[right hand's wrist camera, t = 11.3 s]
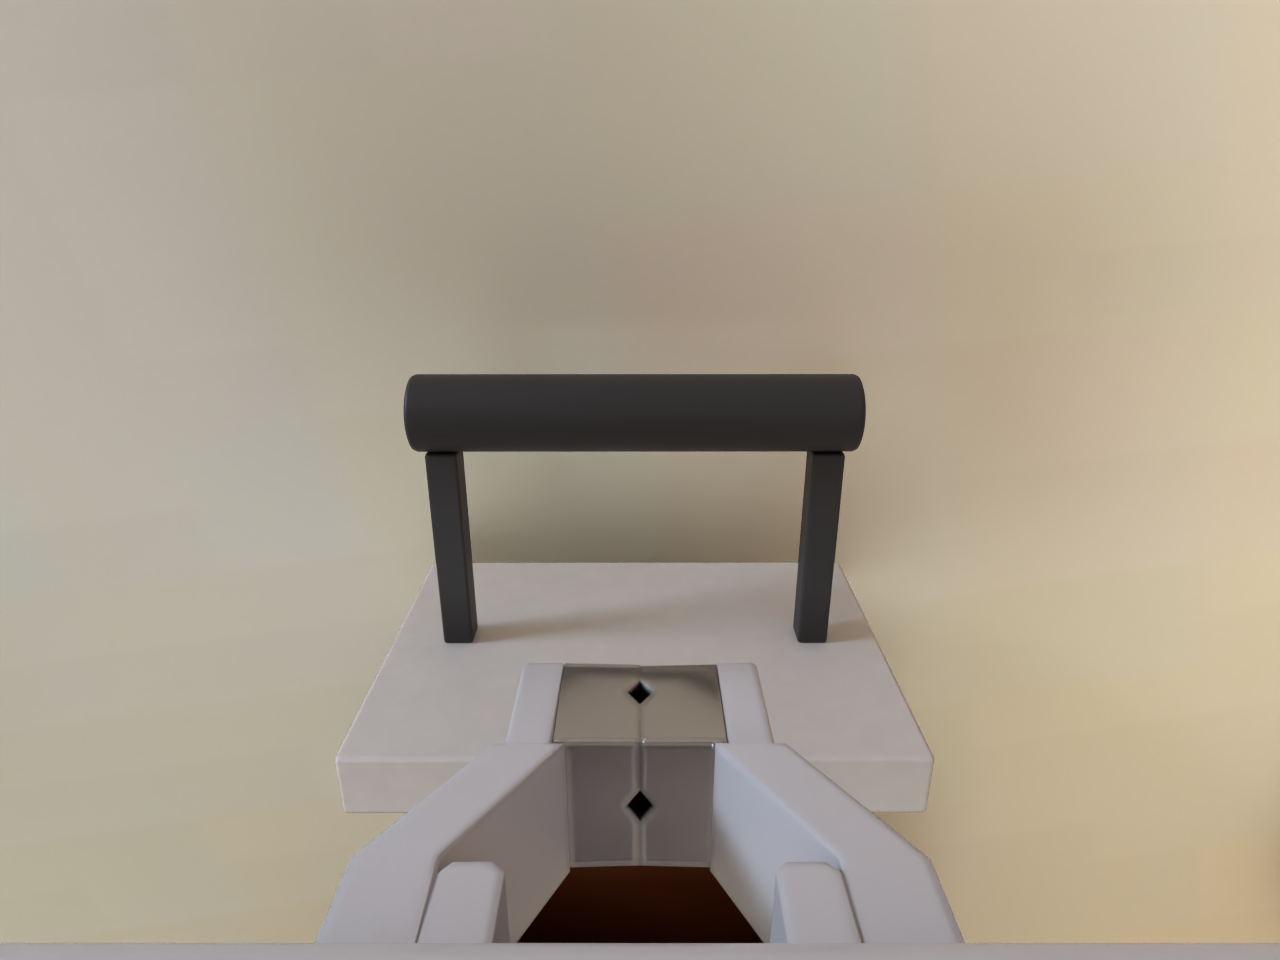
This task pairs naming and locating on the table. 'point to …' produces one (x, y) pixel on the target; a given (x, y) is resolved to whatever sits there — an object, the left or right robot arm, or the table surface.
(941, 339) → the table surface
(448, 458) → the drawer
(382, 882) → the right robot arm
